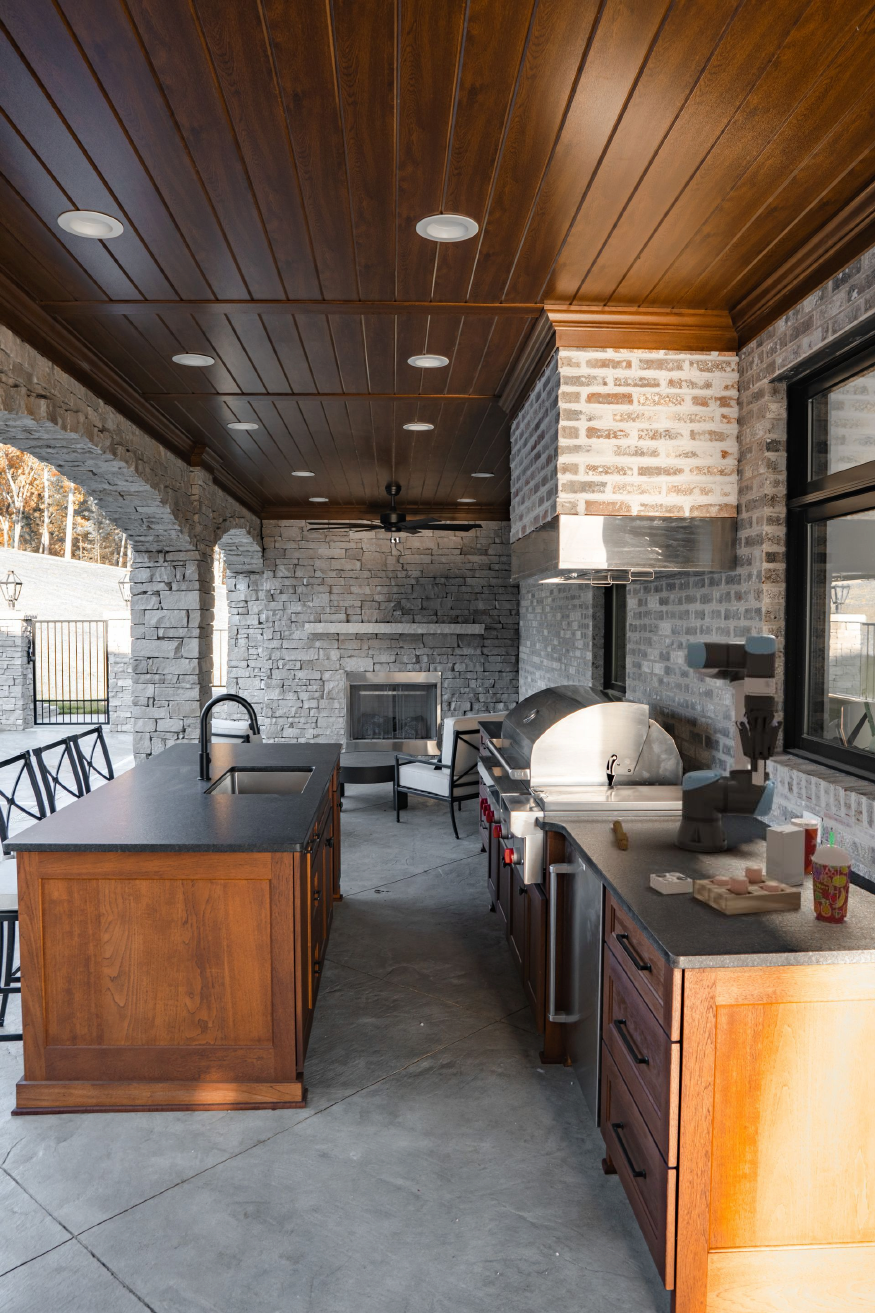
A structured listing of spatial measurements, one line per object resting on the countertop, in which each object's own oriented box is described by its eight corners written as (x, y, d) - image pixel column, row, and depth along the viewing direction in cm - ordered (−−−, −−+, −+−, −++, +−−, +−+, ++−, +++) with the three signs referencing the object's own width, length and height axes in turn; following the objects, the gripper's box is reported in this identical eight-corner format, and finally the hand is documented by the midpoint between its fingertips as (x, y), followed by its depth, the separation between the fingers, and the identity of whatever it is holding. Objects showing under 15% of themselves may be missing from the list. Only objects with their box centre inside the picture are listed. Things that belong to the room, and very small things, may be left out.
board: (694, 896, 204) (694, 880, 204) (763, 890, 209) (763, 875, 209) (727, 914, 190) (727, 897, 190) (800, 908, 195) (801, 891, 195)
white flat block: (650, 886, 212) (650, 873, 212) (677, 884, 214) (677, 871, 214) (664, 894, 205) (664, 881, 205) (692, 892, 207) (692, 879, 207)
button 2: (726, 891, 196) (727, 876, 196) (741, 890, 197) (741, 874, 197) (737, 896, 192) (737, 880, 192) (751, 895, 193) (752, 879, 193)
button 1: (709, 891, 203) (710, 876, 203) (724, 889, 204) (724, 875, 204) (719, 896, 199) (719, 880, 199) (733, 894, 200) (734, 879, 200)
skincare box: (786, 878, 220) (787, 823, 219) (805, 884, 214) (806, 828, 214) (764, 882, 216) (765, 826, 216) (782, 888, 211) (783, 831, 210)
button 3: (741, 880, 205) (741, 865, 205) (755, 879, 206) (755, 864, 206) (751, 885, 201) (751, 870, 201) (765, 884, 203) (765, 869, 202)
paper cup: (821, 875, 223) (822, 824, 222) (791, 873, 224) (792, 823, 224) (814, 867, 230) (815, 818, 230) (785, 866, 232) (786, 817, 231)
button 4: (759, 897, 199) (759, 882, 199) (773, 895, 200) (773, 881, 200) (769, 902, 195) (770, 887, 195) (784, 901, 196) (784, 885, 196)
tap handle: (621, 820, 276) (629, 841, 247) (621, 829, 276) (629, 851, 247) (612, 819, 277) (619, 841, 247) (612, 828, 277) (619, 851, 247)
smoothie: (803, 913, 192) (804, 828, 191) (837, 912, 192) (838, 828, 192) (822, 926, 183) (824, 837, 183) (858, 925, 184) (860, 837, 184)
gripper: (746, 695, 208) (745, 787, 208) (790, 695, 211) (788, 785, 211) (729, 693, 215) (727, 782, 215) (771, 693, 218) (770, 780, 219)
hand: (757, 784), depth 213 cm, fingers closed
